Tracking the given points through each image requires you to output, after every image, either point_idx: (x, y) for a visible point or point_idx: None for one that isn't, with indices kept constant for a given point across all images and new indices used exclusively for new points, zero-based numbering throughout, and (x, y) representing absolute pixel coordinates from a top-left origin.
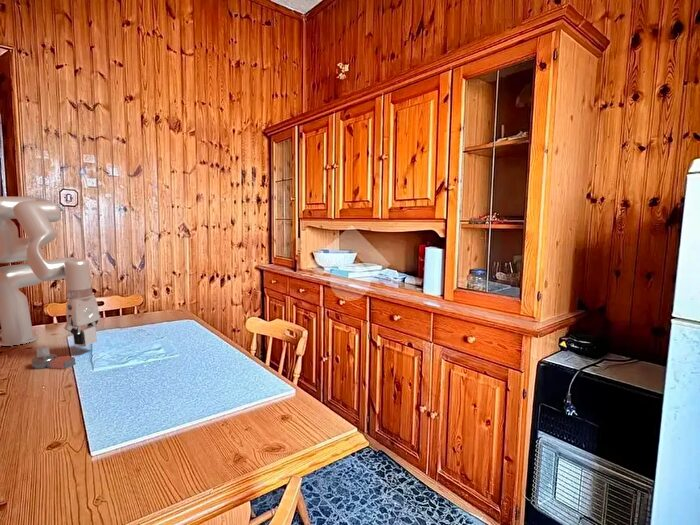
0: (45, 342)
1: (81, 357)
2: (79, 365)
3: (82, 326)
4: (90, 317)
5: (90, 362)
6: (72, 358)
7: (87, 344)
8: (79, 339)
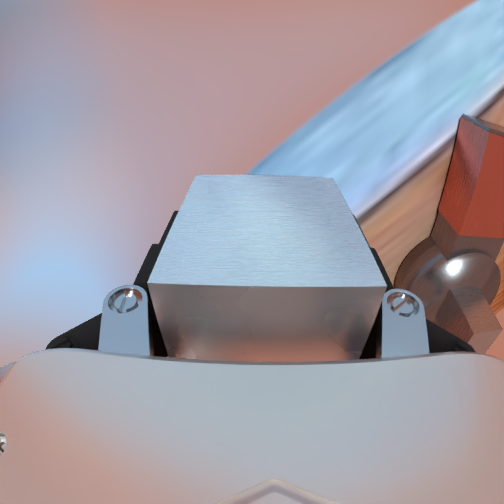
0: None
1: (344, 168)
2: (470, 82)
3: None
4: (232, 486)
5: (429, 36)
6: (498, 134)
7: (313, 181)
8: None
